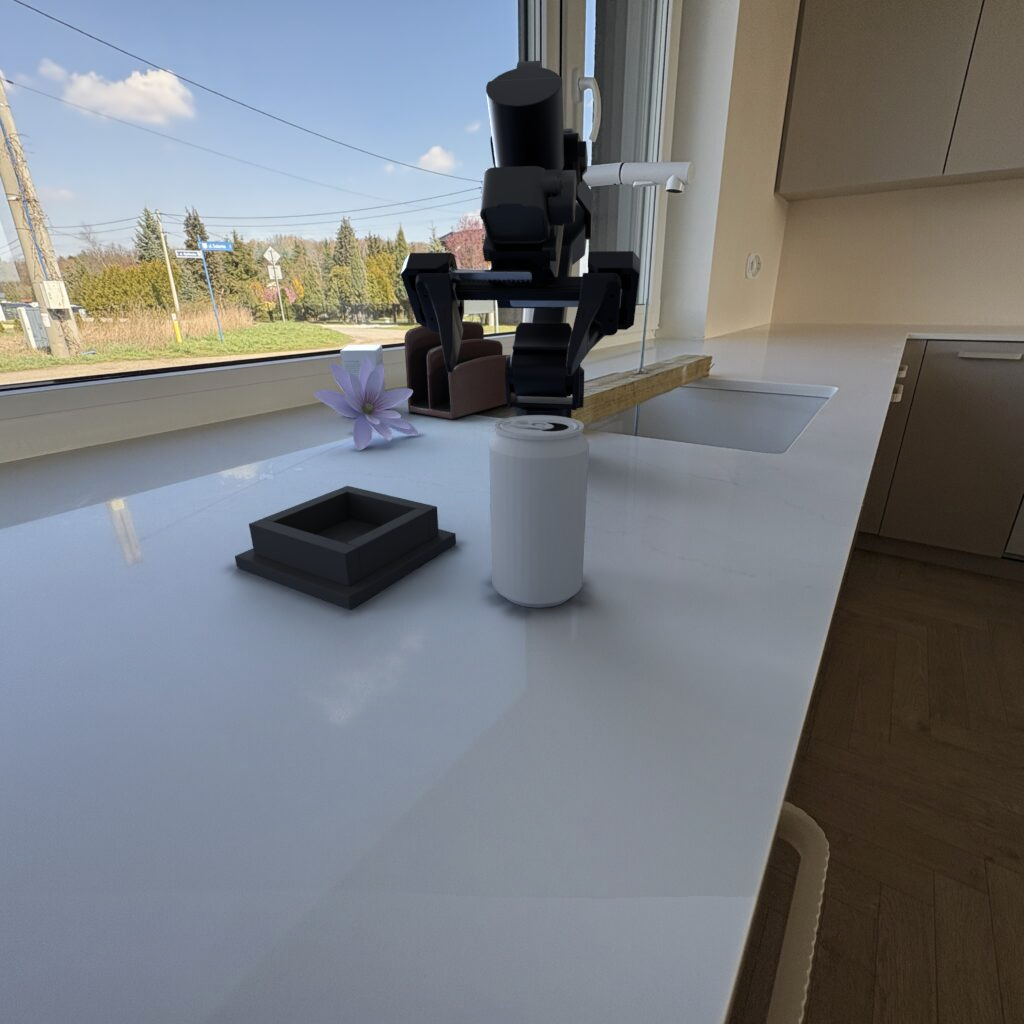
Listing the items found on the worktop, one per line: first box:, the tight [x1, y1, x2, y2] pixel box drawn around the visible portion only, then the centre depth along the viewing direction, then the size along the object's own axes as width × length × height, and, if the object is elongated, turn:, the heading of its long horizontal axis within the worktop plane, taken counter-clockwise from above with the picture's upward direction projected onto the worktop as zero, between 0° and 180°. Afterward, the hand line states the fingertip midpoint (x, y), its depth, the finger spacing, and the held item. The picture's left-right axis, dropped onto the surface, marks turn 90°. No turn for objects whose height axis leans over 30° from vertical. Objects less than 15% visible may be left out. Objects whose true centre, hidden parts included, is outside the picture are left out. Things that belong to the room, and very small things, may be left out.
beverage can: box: [488, 415, 590, 609], centre depth 38 cm, size 6×6×12 cm
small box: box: [339, 344, 387, 411], centre depth 93 cm, size 8×6×10 cm
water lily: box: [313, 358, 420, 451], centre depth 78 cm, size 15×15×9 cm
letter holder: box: [404, 320, 511, 420], centre depth 97 cm, size 10×20×14 cm, turn 144°
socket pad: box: [234, 485, 457, 610], centre depth 45 cm, size 12×12×4 cm
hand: (507, 370), depth 43 cm, fingers open, 9 cm apart
